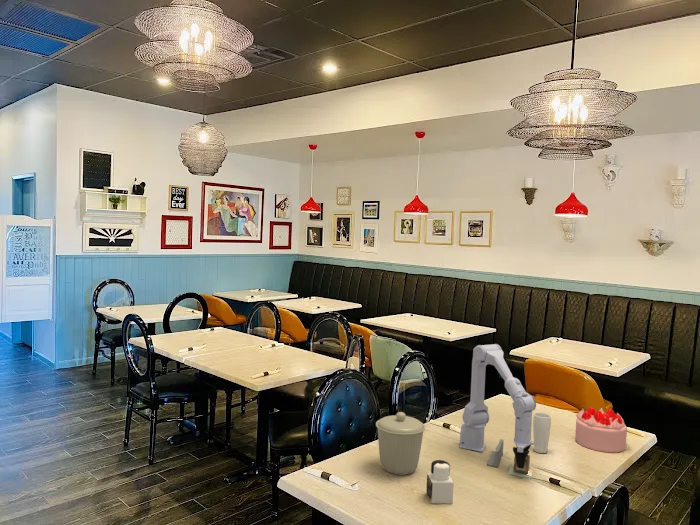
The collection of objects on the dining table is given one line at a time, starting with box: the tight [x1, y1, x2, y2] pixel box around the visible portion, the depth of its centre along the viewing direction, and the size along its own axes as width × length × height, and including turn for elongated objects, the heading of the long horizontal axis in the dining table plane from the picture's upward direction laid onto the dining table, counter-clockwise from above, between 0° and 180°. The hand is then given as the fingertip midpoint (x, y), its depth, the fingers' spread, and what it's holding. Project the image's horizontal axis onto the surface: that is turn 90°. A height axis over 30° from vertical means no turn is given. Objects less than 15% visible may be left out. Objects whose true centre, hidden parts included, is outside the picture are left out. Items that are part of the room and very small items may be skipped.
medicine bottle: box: [426, 459, 454, 504], centre depth 174 cm, size 7×7×12 cm
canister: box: [375, 411, 426, 476], centre depth 195 cm, size 18×18×21 cm
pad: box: [507, 464, 533, 480], centre depth 196 cm, size 8×8×1 cm
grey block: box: [486, 438, 505, 469], centre depth 207 cm, size 4×14×6 cm, turn 156°
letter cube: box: [513, 454, 531, 474], centre depth 196 cm, size 5×5×5 cm
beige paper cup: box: [532, 412, 552, 454], centre depth 217 cm, size 7×7×15 cm
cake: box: [574, 406, 628, 454], centre depth 228 cm, size 20×20×14 cm
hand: (521, 464), depth 196 cm, fingers closed on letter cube, 5 cm apart
